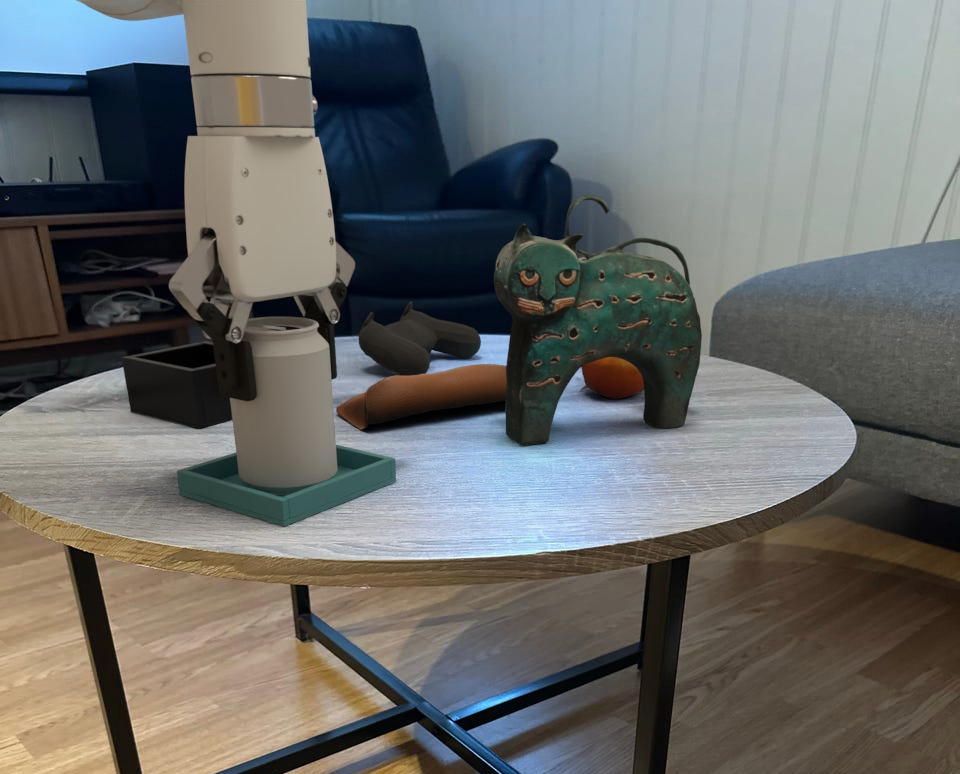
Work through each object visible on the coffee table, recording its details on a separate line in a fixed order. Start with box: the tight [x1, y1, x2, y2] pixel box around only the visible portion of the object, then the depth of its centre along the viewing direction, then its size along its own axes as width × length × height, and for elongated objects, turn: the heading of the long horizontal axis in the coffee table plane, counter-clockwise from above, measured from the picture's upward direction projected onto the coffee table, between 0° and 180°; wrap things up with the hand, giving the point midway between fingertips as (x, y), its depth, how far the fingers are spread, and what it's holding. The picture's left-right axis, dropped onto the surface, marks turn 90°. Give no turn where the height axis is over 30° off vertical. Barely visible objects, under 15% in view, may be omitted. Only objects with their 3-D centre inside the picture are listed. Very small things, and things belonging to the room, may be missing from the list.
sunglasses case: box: [335, 363, 507, 431], centre depth 92 cm, size 18×7×7 cm
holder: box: [121, 340, 233, 430], centre depth 92 cm, size 10×10×5 cm
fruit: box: [579, 357, 644, 400], centre depth 99 cm, size 8×8×8 cm
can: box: [230, 316, 338, 495], centre depth 69 cm, size 8×8×12 cm
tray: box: [176, 444, 397, 527], centre depth 72 cm, size 12×11×2 cm
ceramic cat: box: [493, 194, 703, 447], centre depth 82 cm, size 20×6×20 cm, turn 112°
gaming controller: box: [358, 301, 482, 376], centre depth 111 cm, size 17×6×10 cm
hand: (280, 385), depth 69 cm, fingers closed on can, 7 cm apart
